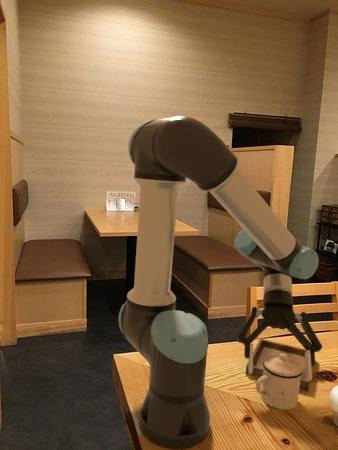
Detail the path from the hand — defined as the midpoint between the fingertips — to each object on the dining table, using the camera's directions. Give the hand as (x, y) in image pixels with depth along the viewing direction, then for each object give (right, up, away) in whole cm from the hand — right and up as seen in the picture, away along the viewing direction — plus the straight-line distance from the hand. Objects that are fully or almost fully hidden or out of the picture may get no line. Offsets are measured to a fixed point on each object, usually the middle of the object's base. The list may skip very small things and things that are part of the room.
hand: (279, 376), depth 90 cm
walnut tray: (+5, -4, +17) cm, 18 cm away
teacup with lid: (-1, -7, +1) cm, 7 cm away
